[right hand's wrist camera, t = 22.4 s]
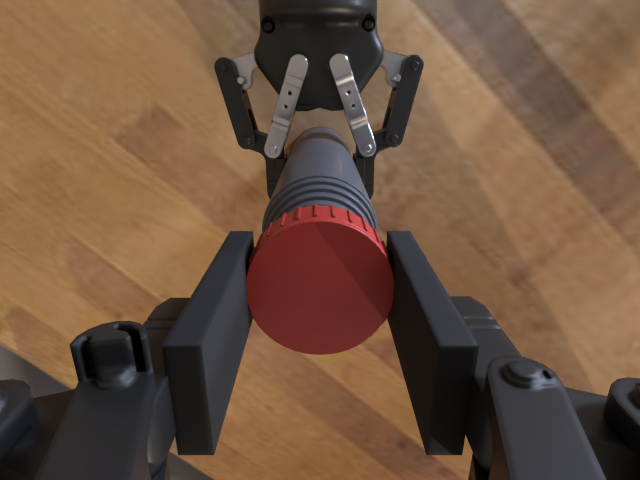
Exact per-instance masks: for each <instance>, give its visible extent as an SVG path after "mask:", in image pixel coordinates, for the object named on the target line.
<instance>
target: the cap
mask: <svg viewBox="0 0 640 480" xmlns="http://www.w3.org/2000/svg"><path fill="white" fill-rule="evenodd" d="M388 257H389V254H388V251H387V249H386V246H385V244H384V242H383V241H381V240H380V238H379V236H378V234H377V231H376V229H375V228H372V227H371V226H370V225H369V224H368V223H367V222H365V219H364V218H363V217H362V218H360V217H359V216H357V215H355V214H354V213H351V211H350V210H349V209H348V210H344V209H341V208H338V207H334V205H332V206H323V205H317V204H315V206H308V207H303V208H301V206H300V207H298V209H296V210H293V211H291V212H289V213H287V214H286V213H283V215H282V217H280V218H279V219H277V220H276V221H275V222H274V223H272V222H271V223H270V225H269V228H268V229H267V230H266V231H265V232H264V234H261V235H260V237H259V240H258V242H257V245H256V247H254V250H253V252H252V255H251V257H250V260H249V262H248V264H250V265H249V268H248V271H247V275H246V285H247V300H248V307H249V310H250V312H251V314H252V316H253V318H254V320H255V321H256V323H257V324H258V326H259V327H260V328H261V329H262V330H263V331H264V332H265V333H266V334H267V335H268V336H269V337H270V338H272V339H273V340H274V341H276V342H277V343H279V344H281V345H283V346H284V347H287V348H289V349H292V350H294V351H298V352H302V353H307V354H318V355H323V354H333V353H339V352H342V351H346V350H349V349H351V348H353V347H356V346H358V345H359V344H361V343H363V342H365V341H366V340H367V339H369V338H370V337H371V336H372V335H373V334H374V333H376V332H377V331H378V329H379V328H380V327H381V326H382V325H383V323H384V322H385V320H386V318H387V317H388V315H389V312H390V310H391V308H392V303H393V289H394V274H393V270H392V267H391V264H390V262H389V259H388Z"/></svg>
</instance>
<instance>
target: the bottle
mask: <svg viewBox="0 0 640 480" xmlns="http://www.w3.org/2000/svg"><path fill="white" fill-rule="evenodd" d="M315 204H317V205H323V206H332V205H334V207H338V208H341V209H344V210H348V209H349V210H350V211H351V213H354V214H355V215H357V216H359V217H360V218H362V217H363V218H364V219H365V222H367V223H368V224H369V225H370V226H371V227H372V228H375V229H376V231H377V234H378V222H377V217H376V213H375V211H374V208H373V206H372V203H371V201H370V199H369V196H368V194H367V192H366V189H365V187H364V185H363V182H362V180H361V178H360V175H359V173H358V170H357V168H356V166H355V163H354V161H353V159H352V156H351V154H350V152H349V149H348V147H347V145H346V142H345V141H344V139H343V138H342V137H341V135H340V134H338V133H337V132H336V131H334V130H332V129H330V128H326V127H314V128H311V129H308V130H306V131H305V132H303V133H302V134H301V135H300V136H299V137H298V138H297V140H296V141H295V143H294V145H293V148H292V150H291V152H290V155H289V157H288V159H287V162H286V164H285V166H284V169H283V171H282V174H281V176H280V178H279V181H278V183H277V185H276V188H275V190H274V192H273V195H272V197H271V199H270V202H269V204H268V206H267V209H266V212H265V214H264V219H263V225H262V234H264V232H265V231H266V230H267V229H268V228H269V225H270V223H271V222H272V223H274V222H275V221H276V220H277V219H279V218H280V217H282V215H283V213H286V214H287V213H289V212H291V211H293V210H296V209H298V207H300V206H301V208H303V207H308V206H315Z"/></svg>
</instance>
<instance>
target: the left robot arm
mask: <svg viewBox="0 0 640 480" xmlns="http://www.w3.org/2000/svg"><path fill="white" fill-rule="evenodd" d="M259 11H260V36H259V40H258V42H257V44H256V47H255V50H254V53H250V54H247V55H243V56H239V57H236V58H232V59H228V58H219V59H218V60H217V61H216V62H215V72H216V75H217V78H218V81H219V84H220V87H221V91H222V94H223V97H224V100H225V103H226V106H227V110H228V113H229V116H230V119H231V122H232V125H233V129H234V132H235V135H236V138H237V141H238V144H239V145H240V147H242V148H244V149H251V150H254V151H256V152H259V153H261V154H262V155H263V156H264V158H265V160H266V173H267V190H268V196H269V198H270V199H271V197H272V195H273V192H274V190H275V188H276V185H277V183H278V181H279V178H280V176H281V174H282V171H283V169H284V166H285V164H286V162H287V154H284V146H285V142H286V139H287V136H288V133H289V130H290V127H291V124H292V121H293V118H294V115H295V112H296V110H297V111H309V110H313V109H316V108H323V109H327V110H331V111H336V110H344V113H345V116H346V118H347V121H348V124H349V126H350V129H351V132H352V135H353V138H354V140H355V143H356V153H353V161H354V163H355V166H356V168H357V170H358V173H359V175H360V178H361V180H362V182H363V185H364V187H365V189H366V192H367V194H368V196H369V199H371V197H372V195H373V185H374V159H375V156H376V155H377V153H378V152H380V151H382V150H384V149H387V148H389V147H397V146H399V145H400V144H401V142H402V140H403V136H404V133H405V129H406V126H407V122H408V118H409V115H410V111H411V108H412V104H413V101H414V97H415V94H416V90H417V87H418V83H419V80H420V76H421V73H422V69H423V60H422V58H421V57H420V56H418V55H410V56H405V55H401V54H397V53H393V52H389V51H385V50H383V46H382V44H381V42H380V40H379V37H378V34H377V27H376V20H377V0H259ZM379 66H381V67H382V68H383V69H384V70H385V81H386V83H387V85H388V86H390V87H393V88H392V92H391V95H390V99H389V103H388V107H387V110H386V114H385V118H384V122H383V126H382V129H380V130H377V131H375V132H371V129H370V126H369V123H368V119H367V115H366V112H365V110H364V107H363V104H362V101H361V98H360V95H359V94H360V93H361V92H362V90H363V89H364V87H365V86H366V84H367V83H368V81H369V80H370V79H371V77H372V76H373V74H374V73H375V71H376V70H377V68H378V67H379ZM257 68H259V69H260V70H261V72H262V73H263V74H264V76H265V77H266V78H267V80H268V81H269V82H270V84H271V85H272V86H273V88H274V89H275V91H276V92H277V93H278V95H279V99H278V102H277V105H276V108H275V112H274V115H273V119H272V123H271V127H270V130H269V133H268V134H266V133H263V132H260V131H258V128H257V124H256V121H255V118H254V114H253V111H252V107H251V104H250V101H249V97H248V94H247V91H246V90H247V89H249V88H251V87H252V85H253V73H254V71H255V70H256V69H257Z"/></svg>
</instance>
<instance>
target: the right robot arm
mask: <svg viewBox="0 0 640 480" xmlns="http://www.w3.org/2000/svg"><path fill="white" fill-rule="evenodd" d="M386 249H387V251H388V254H389V257H388V259H389V262H390V264H391V267H392V270H393V274H394V289H393V303H392V308H391V310H390V312H389V315H388V317H387V318H388V322H389V326H390V329H391V333H392V336H393V340H394V343H395V347H396V350H397V354H398V357H399V361H400V364H401V368H402V371H403V375H404V378H405V382H406V385H407V389H408V392H409V396H410V399H411V403H412V406H413V410H414V413H415V417H416V420H417V424H418V427H419V431H420V434H421V438H422V441H423V445H424V448H425V452H426V455H462V452H463V446H464V439H465V434H466V437H467V439H468V442H469V444H470V446H471V449H472V451H473V455H472V461H471V467H470V473H469V479H468V480H640V379H639V378H629V377H628V378H622V379H617V380H616V381H615V382H613V383H612V384H611V386H610V390H609V393H608V396H603V395H598V394H593V393H588V392H584V391H579V390H574V389H571V388H567V387H564V386H563V384H562V382H561V380H560V379H559V378H558V376H557V375H556V374H555V372H553V371H552V370H550V369H549V368H548V367H546V366H545V365H543V364H541V363H539V362H537V361H534V360H532V359H529V358H525V357H522V356H521V355H520V353H519V352H518V350H517V349H516V348H515V346H514V345H513V344H512V342H511V341H510V340H509V338H508V337H507V335H506V334H505V333H504V331H503V330H502V329H500V326H499V325H498V323H497V322H496V321H495V319H493V316H492V315H491V314H490V312H489V311H488V310H487V308H486V307H485V306H484V305H482V304H481V303H479V302H478V301H476V300H475V299H473V298H472V297H449V295H448V294H447V292H446V290H445V289H444V287H443V285H442V284H441V282H440V280H439V279H438V277H437V275H436V274H435V272H434V270H433V269H432V267H431V265H430V264H429V262H428V260H427V259H426V257H425V256H424V254H423V252H422V251H421V249H420V247H419V246H418V244H417V242H416V241H415V239H414V237H413V236H412V234H411V232H410V231H387V246H386ZM253 250H254V241H253V231H230V233H229V234H228V236H227V238H226V239H225V241H224V243H223V244H222V246H221V248H220V249H219V251H218V253H217V254H216V256H215V258H214V259H213V261H212V263H211V264H210V266H209V268H208V269H207V271H206V273H205V274H204V276H203V278H202V279H201V281H200V283H199V284H198V286H197V288H196V289H195V291H194V293H193V294H192V296H191V297H190V298H169V299H168V300H166V301H165V302H163V303H162V304H160V305H159V306H157V307H156V308H155V309H154V310H153V312H152V313H151V315H150V316H149V317H148V320H147V321H145V323H144V324H143V325H141V324H140V323H136V322H132V321H115V322H110V323H105V324H101V325H99V326H96V327H93V328H91V329H88V330H87V331H85V332H83V333H82V334H80V335H78V336H77V337H76V338H75V339H74V340H73V341H72V342H71V344H70V348H71V353H72V357H73V361H74V365H75V369H76V373H77V377H78V381H79V382H78V385H77V387H76V389H73V390H69V391H66V392H61V393H56V394H51V395H47V396H42V397H37V398H33V395H32V392H31V389H30V386H29V385H28V384H26V383H25V382H24V381H20V380H14V379H10V380H1V381H0V480H169V477H170V468H169V461H168V455H167V454H168V452H169V449H170V447H171V444H172V442H173V440H174V437H175V438H176V444H177V450H178V455H214V453H215V449H216V446H217V442H218V439H219V435H220V432H221V428H222V425H223V421H224V418H225V414H226V411H227V407H228V404H229V400H230V397H231V393H232V390H233V386H234V383H235V379H236V376H237V372H238V369H239V365H240V362H241V358H242V355H243V351H244V348H245V344H246V340H247V337H248V333H249V330H250V326H251V323H252V319H253V316H252V314H251V312H250V310H249V307H248V300H247V285H246V275H247V271H248V268H249V265H250V264H248V262H249V260H250V257H251V255H252V252H253Z"/></svg>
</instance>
